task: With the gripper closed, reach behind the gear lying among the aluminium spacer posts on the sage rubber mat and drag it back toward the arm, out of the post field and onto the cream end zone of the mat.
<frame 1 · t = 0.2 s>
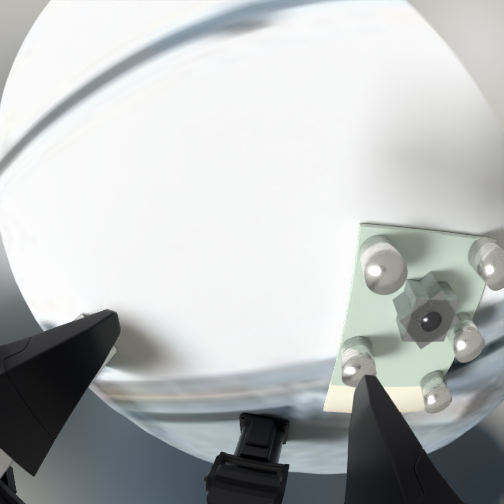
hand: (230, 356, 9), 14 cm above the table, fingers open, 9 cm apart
gear: (421, 301, 21), point 1 cm above the table, touching mat
spacer field: (264, 428, 33), resting on mat
mat: (404, 340, 23), on the table
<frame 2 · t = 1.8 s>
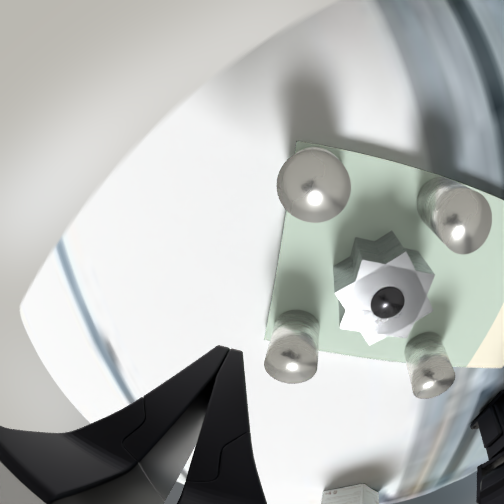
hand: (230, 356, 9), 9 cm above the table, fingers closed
gear: (378, 275, 15), point 1 cm above the table, touching mat
spacer field: (501, 406, 18), resting on mat
mat: (442, 282, 15), on the table
supplement box: (351, 490, 31), on the table
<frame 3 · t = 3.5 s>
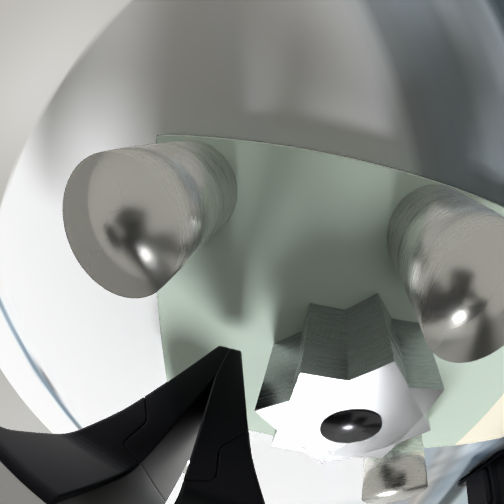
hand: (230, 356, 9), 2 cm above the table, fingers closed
gear: (350, 358, 9), point 1 cm above the table, touching gripper
spacer field: (496, 463, 12), resting on mat
mat: (429, 355, 9), on the table
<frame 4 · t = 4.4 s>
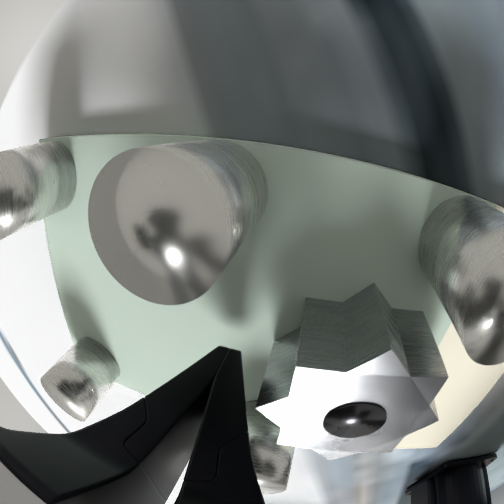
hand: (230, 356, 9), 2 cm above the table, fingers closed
gear: (352, 351, 9), point 1 cm above the table, touching gripper, mat
spacer field: (451, 473, 13), resting on mat
mat: (278, 330, 10), on the table
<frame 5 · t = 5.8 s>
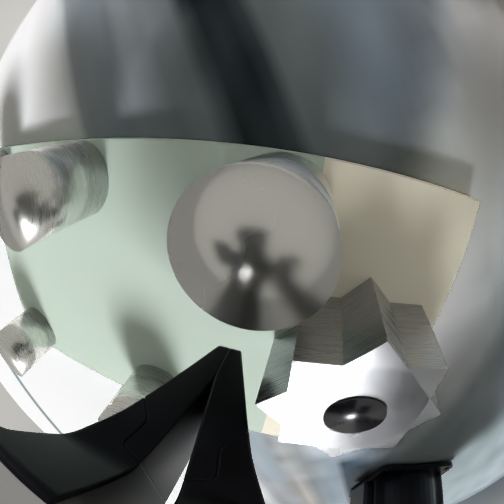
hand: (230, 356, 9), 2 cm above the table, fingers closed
gear: (352, 347, 9), point 1 cm above the table, touching gripper, mat
spacer field: (399, 478, 14), resting on mat
mat: (148, 297, 11), on the table
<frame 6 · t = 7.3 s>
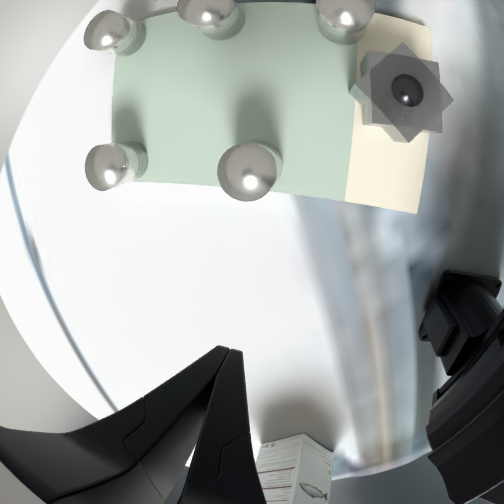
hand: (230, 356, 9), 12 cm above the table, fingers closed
gear: (393, 97, 14), point 1 cm above the table, touching mat
spacer field: (460, 307, 18), resting on mat
mat: (258, 90, 16), on the table
supplement box: (297, 447, 31), on the table
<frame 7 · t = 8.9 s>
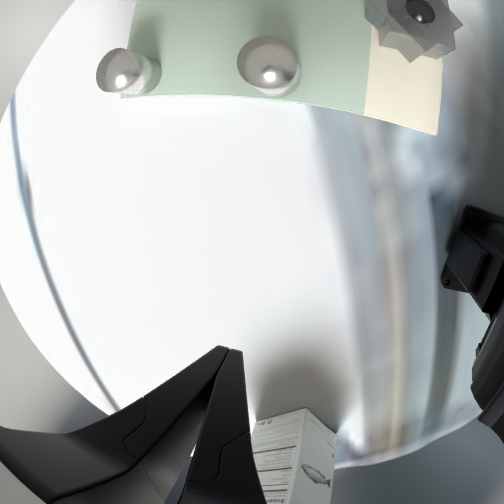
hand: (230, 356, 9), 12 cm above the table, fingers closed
gear: (407, 26, 11), point 1 cm above the table, touching mat
spacer field: (482, 253, 16), resting on mat
mat: (278, 14, 14), on the table
supplement box: (297, 427, 29), on the table
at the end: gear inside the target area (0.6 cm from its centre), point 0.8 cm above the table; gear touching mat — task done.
